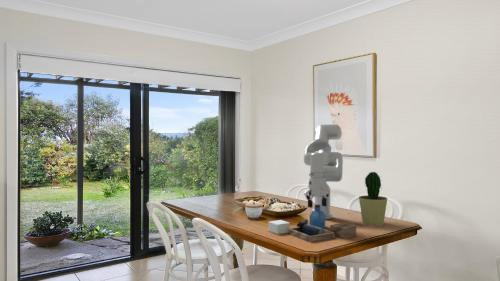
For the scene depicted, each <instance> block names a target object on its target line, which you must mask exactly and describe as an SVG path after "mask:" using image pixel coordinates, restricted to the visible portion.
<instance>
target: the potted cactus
mask: <svg viewBox="0 0 500 281" xmlns="http://www.w3.org/2000/svg"><path fill="white" fill-rule="evenodd" d="M381 177H382V176H381V175H379V174H378V172H377V171H370V172H368V174H367V173H366V176H365V177H364V185H365V187H366V188H365V189H366V194H367V195H359V196H358V200H359V207H360V213H361V214H360V215H361V222H362V224H363V225H366V226H372V227H373V226H374V227H380V226H384V223H385V217H386V216H385V215H386V210H387V203H388V197H386V196H380V192H381V190H382V189H383V187H382V183H381V182H382V180H381ZM380 189H381V190H380Z"/></svg>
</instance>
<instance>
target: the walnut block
mask: <svg viewBox="0 0 500 281" xmlns="http://www.w3.org/2000/svg"><path fill="white" fill-rule="evenodd" d="M329 229H330V230H329V231H331V232H334V233H335V238H339V239H343V240H347V239H350V238H354V237H356V236H357V225H355V224H350V223H345V222H338V223H334V224H330V225H329Z"/></svg>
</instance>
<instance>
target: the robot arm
mask: <svg viewBox="0 0 500 281" xmlns="http://www.w3.org/2000/svg"><path fill="white" fill-rule="evenodd" d="M342 132H343V131H342V128H341V126H340V125H338V124H336V123H335V124H319V125H318V126H317V127H316V128H315V129H314V135H313V136H314V140H313V141H312V142H310V143H309V144H308V145H307V146H306V147H305V150H304V155H303V162H304V165H306V166H310V170H309V171H310V173H309V179H308V184H307V185H308V187H307V190H305V191H304V192H303V194H304V197H305V199H306V200H307V208H311V212H312V211H314V210H315V209H314V206H313V204H314V205H315V204H319V205H320V207H321V209H320V211H323V213H324V214H325V220H330V219H333V218H334V215H333V214H331V188H330V186H329V184H328V183H327V182H329V183H330V182H334V183H335V182H336V183H338V182H340V181H342V179H343V163H344V160H343V155H342V153H341V152H339V151H332V146H331V144H330V140H331V141H332V140H334V141H335V140H340V139H342V138H341V137H342V135H343V134H342ZM313 199H314V200H313ZM313 201H314V202H313ZM312 208H313V209H312Z"/></svg>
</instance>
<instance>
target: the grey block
mask: <svg viewBox="0 0 500 281" xmlns="http://www.w3.org/2000/svg"><path fill="white" fill-rule="evenodd" d="M290 224H291V222H288V221H285V220H283V219H279V220H270V221H268V222H267V226H268V228H267V230H268V231H267V232H271V233H273V234H276V235H281V234H286V233H287V234H288V229H289V228H291V225H290Z"/></svg>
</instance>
